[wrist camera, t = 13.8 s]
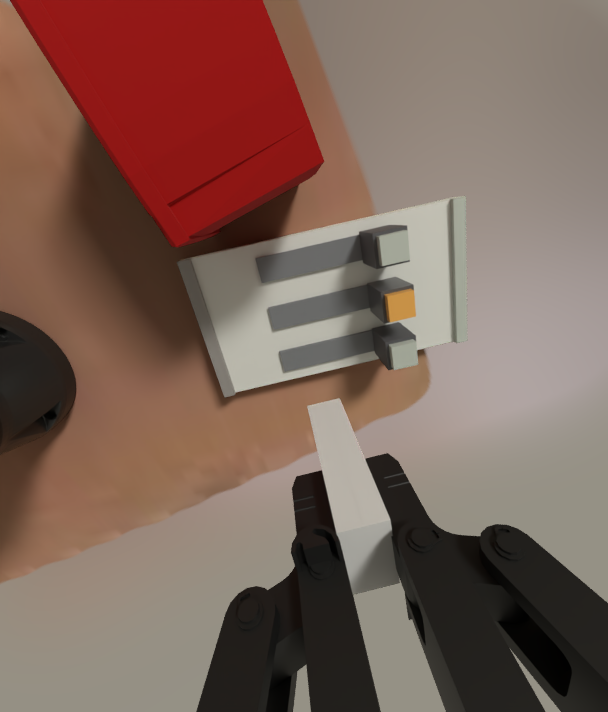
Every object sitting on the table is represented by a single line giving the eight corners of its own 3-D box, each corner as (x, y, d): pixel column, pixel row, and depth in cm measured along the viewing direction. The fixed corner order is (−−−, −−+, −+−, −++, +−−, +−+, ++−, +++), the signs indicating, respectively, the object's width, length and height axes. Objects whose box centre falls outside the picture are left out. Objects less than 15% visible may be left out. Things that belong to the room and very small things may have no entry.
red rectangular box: (95, 50, 27) (-87, -127, 13) (210, -22, 26) (143, -297, 12) (207, 239, 33) (162, 253, 19) (302, 186, 32) (328, 161, 18)
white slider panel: (227, 386, 39) (218, 423, 32) (183, 259, 33) (160, 269, 26) (455, 333, 40) (495, 358, 33) (451, 197, 34) (500, 191, 27)
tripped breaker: (370, 311, 35) (387, 326, 30) (366, 283, 34) (383, 294, 29) (398, 304, 35) (419, 318, 30) (395, 276, 34) (417, 286, 29)
